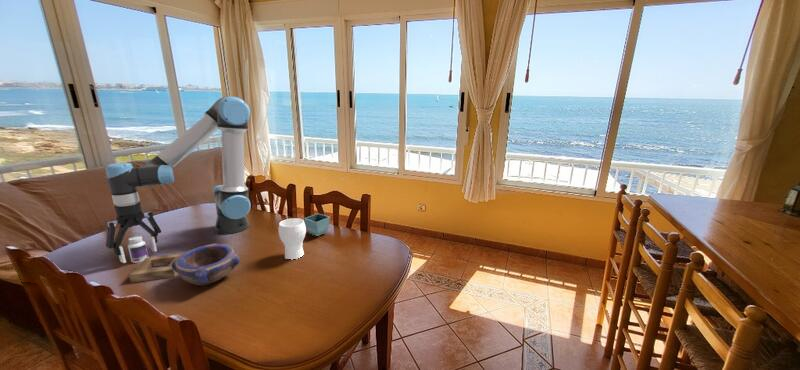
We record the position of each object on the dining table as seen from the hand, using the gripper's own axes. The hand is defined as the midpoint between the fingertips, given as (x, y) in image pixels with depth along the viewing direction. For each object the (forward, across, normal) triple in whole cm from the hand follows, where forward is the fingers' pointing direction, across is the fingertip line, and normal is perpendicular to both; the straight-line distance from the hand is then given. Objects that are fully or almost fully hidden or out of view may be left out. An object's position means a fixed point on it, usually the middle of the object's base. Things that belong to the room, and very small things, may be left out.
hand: (139, 256), depth 120 cm
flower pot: (+2, -52, +47) cm, 70 cm away
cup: (+2, -31, +52) cm, 61 cm away
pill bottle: (+2, 0, 0) cm, 2 cm away
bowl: (+2, -4, +38) cm, 38 cm away
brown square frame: (+2, +1, +16) cm, 16 cm away
